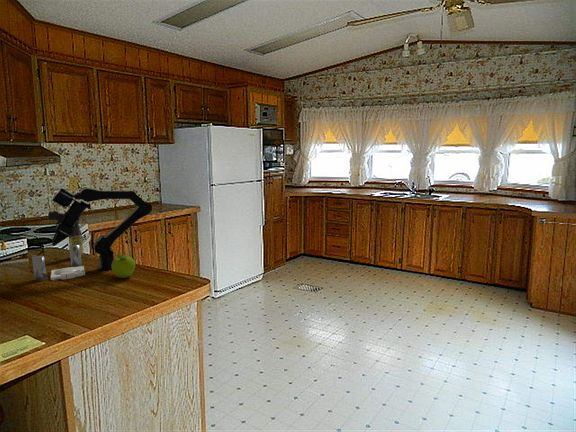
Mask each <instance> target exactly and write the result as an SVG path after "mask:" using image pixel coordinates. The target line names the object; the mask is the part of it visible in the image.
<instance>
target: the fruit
mask: <svg viewBox="0 0 576 432" xmlns="http://www.w3.org/2000/svg"><path fill="white" fill-rule="evenodd" d="M111 267H112V269H111V271H112V273H113V274H114V275H115V276H116V277H117V278H120V279H121V278H122V279H126V278H129V277H130V276H131V275H133V272H134V271H135V269H136V261H135V260H134V258H133V257H132V256H130V255H129V256H128V255H125V256H124V255H123V253H122V254H116V255H115V258H114V260H113V262H112V265H111Z"/></svg>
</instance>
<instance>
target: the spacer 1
mask: <svg viewBox="0 0 576 432" xmlns="http://www.w3.org/2000/svg"><path fill="white" fill-rule="evenodd" d="M31 262H32V268H33V276H34V282H43V281H46V280H47V279H48V278H47V268H46V261H45V255H36V256H32V257H31Z"/></svg>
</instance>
